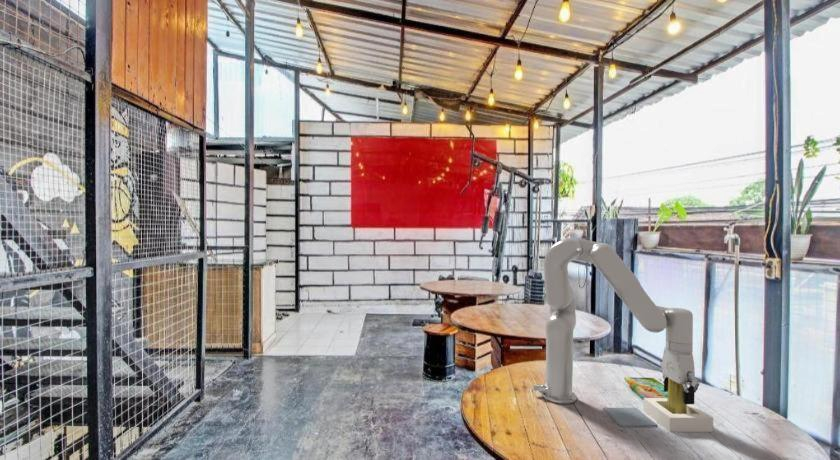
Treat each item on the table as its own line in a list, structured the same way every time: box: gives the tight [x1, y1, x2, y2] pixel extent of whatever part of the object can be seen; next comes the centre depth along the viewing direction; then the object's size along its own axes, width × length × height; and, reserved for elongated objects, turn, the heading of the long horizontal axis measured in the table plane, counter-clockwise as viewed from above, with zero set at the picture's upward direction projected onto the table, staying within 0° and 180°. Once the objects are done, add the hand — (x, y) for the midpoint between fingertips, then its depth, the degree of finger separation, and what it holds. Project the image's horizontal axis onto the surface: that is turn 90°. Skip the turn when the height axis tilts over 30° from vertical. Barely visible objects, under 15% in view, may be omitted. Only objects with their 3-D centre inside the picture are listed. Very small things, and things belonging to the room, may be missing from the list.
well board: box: [643, 398, 714, 433], centre depth 132 cm, size 14×14×4 cm
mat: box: [602, 407, 658, 428], centre depth 134 cm, size 12×12×1 cm
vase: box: [666, 378, 687, 414], centre depth 132 cm, size 6×6×14 cm
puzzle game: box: [623, 376, 668, 401], centre depth 151 cm, size 12×5×20 cm
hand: (678, 397), depth 132 cm, fingers open, 9 cm apart
